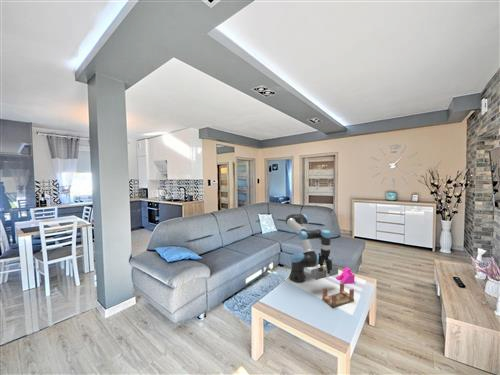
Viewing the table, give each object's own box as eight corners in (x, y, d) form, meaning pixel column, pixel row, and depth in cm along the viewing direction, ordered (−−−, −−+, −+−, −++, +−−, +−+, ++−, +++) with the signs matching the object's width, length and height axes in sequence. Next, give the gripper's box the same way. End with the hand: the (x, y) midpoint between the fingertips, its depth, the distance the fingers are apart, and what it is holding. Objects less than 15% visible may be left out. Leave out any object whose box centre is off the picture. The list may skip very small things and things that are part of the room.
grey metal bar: (315, 280, 171) (316, 272, 171) (310, 276, 177) (311, 269, 176) (338, 274, 180) (338, 267, 180) (332, 271, 186) (332, 264, 186)
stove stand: (322, 299, 166) (322, 288, 166) (342, 293, 175) (343, 282, 174) (332, 308, 156) (332, 296, 156) (354, 301, 165) (354, 289, 164)
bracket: (347, 277, 202) (347, 267, 201) (354, 283, 191) (354, 272, 191) (335, 278, 200) (336, 268, 199) (342, 284, 190) (342, 273, 189)
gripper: (314, 245, 184) (313, 270, 186) (330, 253, 166) (329, 281, 168) (321, 244, 187) (320, 269, 189) (337, 252, 169) (336, 279, 171)
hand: (324, 275), depth 179 cm, fingers closed on grey metal bar, 6 cm apart
